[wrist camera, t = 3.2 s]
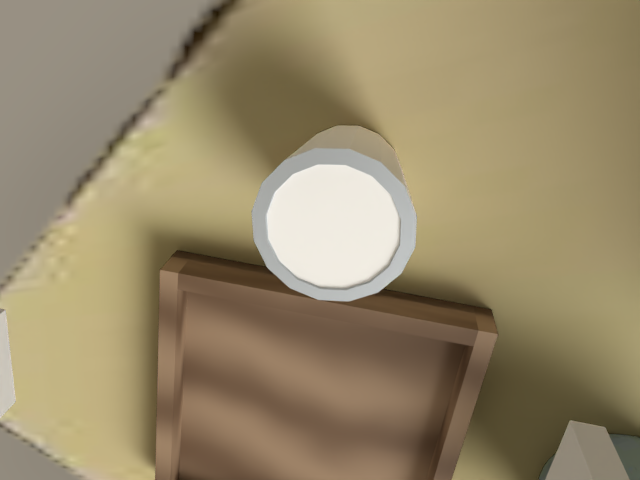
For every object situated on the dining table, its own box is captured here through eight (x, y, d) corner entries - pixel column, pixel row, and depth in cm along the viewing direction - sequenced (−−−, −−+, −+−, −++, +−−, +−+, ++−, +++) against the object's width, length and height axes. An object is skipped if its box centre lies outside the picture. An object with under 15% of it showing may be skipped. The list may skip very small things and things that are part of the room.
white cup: (365, 261, 31) (354, 331, 25) (259, 193, 31) (221, 246, 24) (442, 162, 29) (453, 212, 22) (328, 84, 28) (305, 112, 21)
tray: (176, 250, 33) (159, 269, 30) (491, 309, 31) (498, 334, 29) (168, 478, 40) (154, 507, 38) (422, 532, 39) (423, 566, 37)
